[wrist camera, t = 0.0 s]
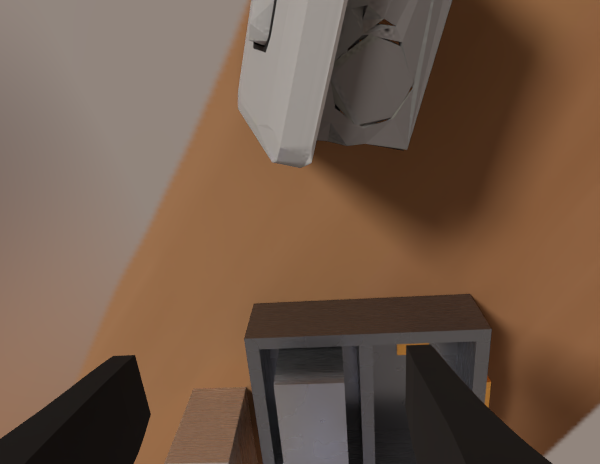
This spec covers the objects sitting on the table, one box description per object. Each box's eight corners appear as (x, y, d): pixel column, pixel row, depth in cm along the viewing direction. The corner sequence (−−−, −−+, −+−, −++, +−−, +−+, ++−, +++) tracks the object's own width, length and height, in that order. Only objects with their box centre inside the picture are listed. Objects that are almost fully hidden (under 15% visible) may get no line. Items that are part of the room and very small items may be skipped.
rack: (463, 428, 25) (492, 503, 21) (271, 432, 26) (261, 505, 22) (474, 293, 22) (510, 350, 18) (253, 303, 22) (238, 360, 18)
